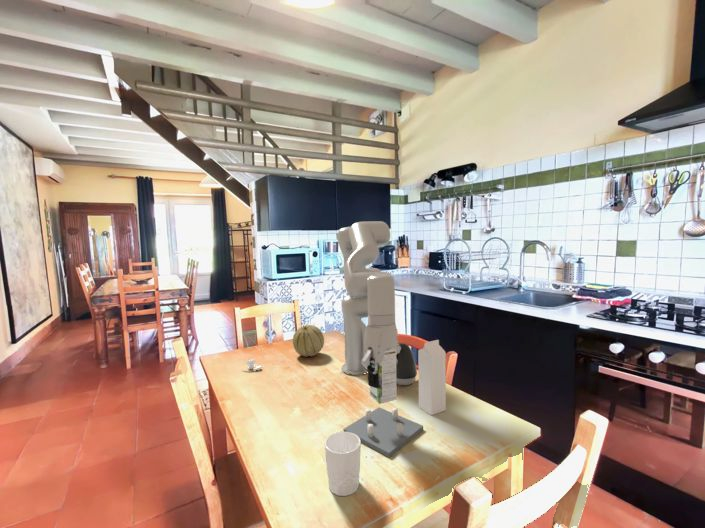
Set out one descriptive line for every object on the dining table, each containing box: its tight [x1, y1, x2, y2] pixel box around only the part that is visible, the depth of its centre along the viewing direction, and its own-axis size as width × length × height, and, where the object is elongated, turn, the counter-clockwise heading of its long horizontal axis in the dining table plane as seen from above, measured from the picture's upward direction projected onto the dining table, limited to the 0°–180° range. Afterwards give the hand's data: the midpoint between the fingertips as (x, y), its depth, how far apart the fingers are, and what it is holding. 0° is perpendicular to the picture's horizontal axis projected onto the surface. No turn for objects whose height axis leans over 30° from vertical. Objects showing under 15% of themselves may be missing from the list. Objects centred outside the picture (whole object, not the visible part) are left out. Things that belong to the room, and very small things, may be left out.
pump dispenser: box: [396, 342, 418, 386], centre depth 124 cm, size 10×10×15 cm
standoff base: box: [343, 406, 424, 458], centre depth 93 cm, size 16×16×4 cm
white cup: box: [324, 431, 362, 497], centre depth 73 cm, size 8×8×10 cm
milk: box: [417, 339, 447, 416], centre depth 104 cm, size 6×6×22 cm
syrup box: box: [369, 348, 398, 405], centre depth 92 cm, size 6×6×14 cm
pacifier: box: [246, 358, 262, 372], centre depth 142 cm, size 9×8×4 cm
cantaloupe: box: [292, 324, 325, 358], centre depth 156 cm, size 15×15×15 cm
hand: (382, 381), depth 92 cm, fingers closed on syrup box, 7 cm apart
